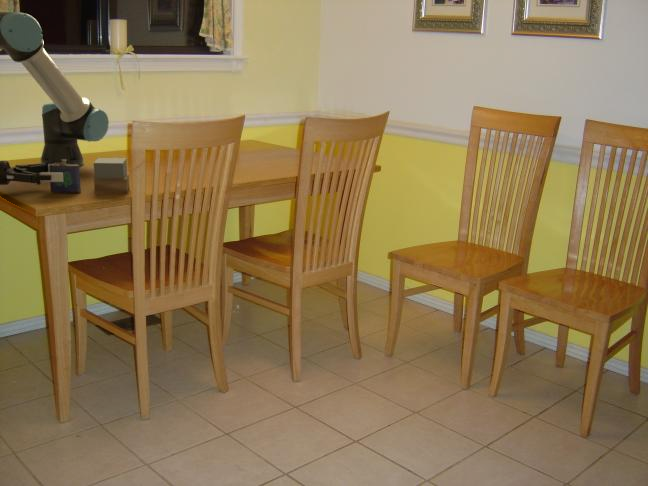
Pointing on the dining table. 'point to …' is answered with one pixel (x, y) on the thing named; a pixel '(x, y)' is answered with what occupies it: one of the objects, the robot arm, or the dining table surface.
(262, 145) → the dining table surface
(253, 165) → the dining table surface
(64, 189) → the flask
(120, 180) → the tower base
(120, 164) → the tower top
